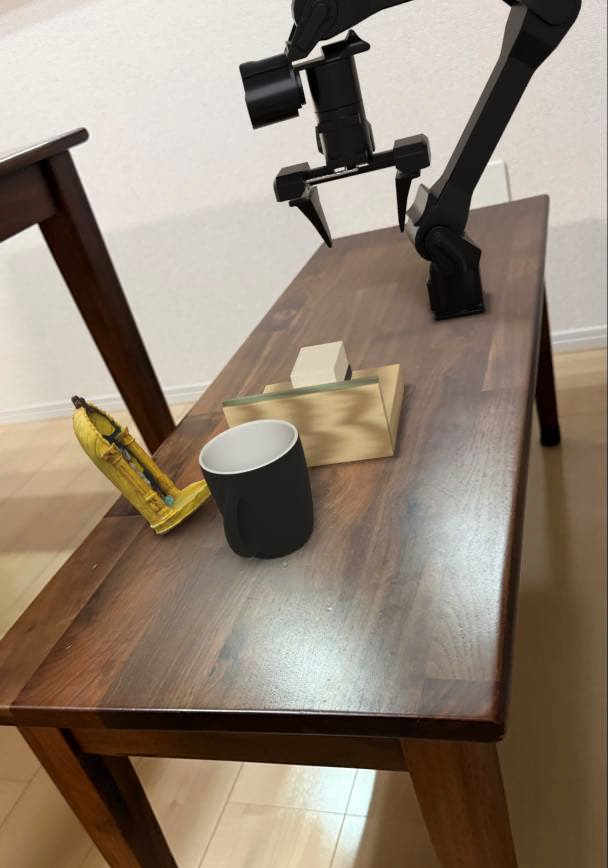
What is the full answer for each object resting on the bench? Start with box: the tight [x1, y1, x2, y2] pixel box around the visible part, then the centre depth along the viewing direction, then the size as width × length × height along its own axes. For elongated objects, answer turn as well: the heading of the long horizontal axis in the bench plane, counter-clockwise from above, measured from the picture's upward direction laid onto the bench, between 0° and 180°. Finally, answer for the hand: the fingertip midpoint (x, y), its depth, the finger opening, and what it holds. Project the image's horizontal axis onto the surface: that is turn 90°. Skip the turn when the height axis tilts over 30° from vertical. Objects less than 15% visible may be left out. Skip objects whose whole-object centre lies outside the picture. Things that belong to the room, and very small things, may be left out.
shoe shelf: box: [221, 363, 405, 468], centre depth 91 cm, size 16×15×9 cm
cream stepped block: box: [289, 340, 353, 389], centre depth 91 cm, size 5×10×4 cm, turn 170°
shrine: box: [70, 394, 212, 536], centre depth 81 cm, size 12×8×15 cm
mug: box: [198, 419, 315, 560], centre depth 74 cm, size 12×9×10 cm
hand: (366, 239), depth 106 cm, fingers open, 9 cm apart
